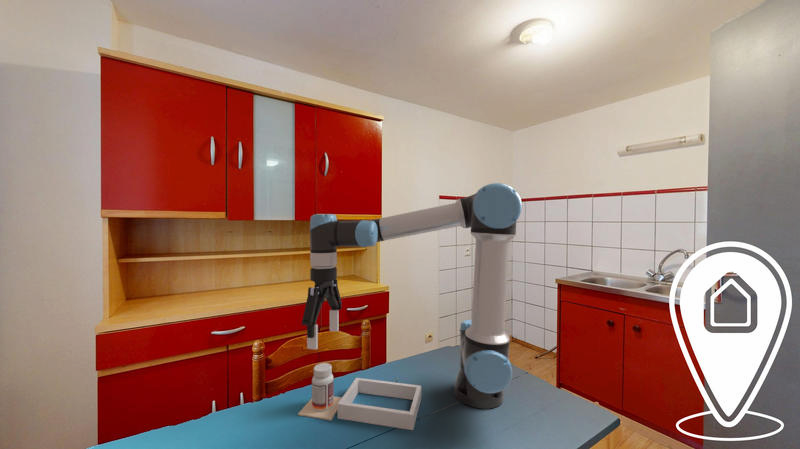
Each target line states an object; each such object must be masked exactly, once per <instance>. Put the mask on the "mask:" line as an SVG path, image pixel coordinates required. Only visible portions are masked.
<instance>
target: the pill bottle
mask: <svg viewBox="0 0 800 449" xmlns="http://www.w3.org/2000/svg"><path fill="white" fill-rule="evenodd" d="M332 368H333V365H332V364H331V363H327V362H323V363H322V362H321V363H319V364H316V365H315V366H314V367H313V376H312V379H311V398H312V407H313V409H314V410H316V411H325V410H328V409H329V408H331V407H332V405H333V402H334V397H335V395H334V389H335V387H334V385H335V384H334V382H335V380H334V375H333V373H332V371H333V370H332Z"/></svg>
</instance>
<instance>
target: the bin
mask: <svg viewBox="0 0 800 449" xmlns="http://www.w3.org/2000/svg"><path fill="white" fill-rule="evenodd" d="M359 393H361V394H367V395H375V396H379V397H380V396H382V397H389V398H396V399H403V400H404V399H405V400H412V402H411V406H410V409H409V411H408V410H402V409H395V408H387V407H382V406H381V407H380V406H374V405H368V404H367V405H366V404H361V403H360V404H359V403H353V402H354V400H355V398H357V396H358V394H359ZM341 398H342V399H341V400H340V401H339V403H338V411H337V419H338V420H339V419H340V420H345V421H353V422H359V423H365V424H371V425H377V426H383V427H388V428H389V427H390V428H396V429H402V430H407V431H409V430H410V431H414V428H415V425H416V421H417V417H418V414H419V413H418V412H419V408H420V404H421V400H422V385H418V384H410V383H401V382H394V381H385V380H377V379H370V378H364V377H363V378H361V377H356V378H355V379H354V380H353V382H352V383H351V385H350V386H349V387H348V389H347V390H346V391H345V393H344V394H343V396H342V397H341Z"/></svg>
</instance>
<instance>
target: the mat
mask: <svg viewBox="0 0 800 449" xmlns="http://www.w3.org/2000/svg"><path fill="white" fill-rule="evenodd" d="M341 399H342V397H340V396H334V402H333V405H332V407H331V408H329V409H328V410H325V411H316V410H314V409H313V407H312V397H311V399H309V401H308V402H307V403H306V404H305V405H304V406H303V407H302V408H301V410H300V411H299V412H298V413H297V415H298V416H301V417H307V418H308V417H309V418H313V419H314V418H315V419H319V420H326V421H332V420H333V418H334V417H335V415H336V413H338V403H339V401H340V400H341Z"/></svg>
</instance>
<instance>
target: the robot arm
mask: <svg viewBox="0 0 800 449" xmlns="http://www.w3.org/2000/svg"><path fill="white" fill-rule="evenodd" d="M522 206H523V205H522V199H521V197H520V194H519V193H518V192H517V191H516V190H515V188H513V187H512V186H510V185H508V184H505V183H501V182H495V183H494V182H493V183H489V184H486V185H483V186H482V187H481V188H479V189H478V190H477V192H475V193H474V194H471V195H468V196H466V197H462V198H458V199H457V200H456V202H452V203H449V204H444V205H438V206H433V207H428V208H423V209H418V210H415V211H410V212H405V213H399V214H394V215H390V216H386V217H381V218H375V219H371V220H366V219H365V220H338V219H337V216H336V214H332V213H326V214H325V213H324V214H323V213H317V214H313V215H311V216H310V221H309V222H310V224H309V238H310V239H309V241H310V242H309V243H310V248H309V249H310V255H309V258H310V269H309V270H310V271H309V276H310V278H309V279H310V281H311V282H314V285H313V286H314V287H313V286H312V287H311V286H310V287H308V288H307V289H308V290H307V298H306V303H305V307H304V311H303V316H302V321H301V326H306V348H307V350H308V349H309V350H318V348H319V346H318V344H319V343H318V339H319V338H318V337H319V336H318V335H319V334H318V332H319V330H318V329H319V327H318V326H319V325H318V324H317V321H318V317H319V315H320V311H321V309H322V306H323V303H325V302H327V303H328V306H329V307H330V310H329V332H337V333H338V332H339V331H340V330H339V329H340V328H339V322H340V321H339V319H340V318H339V310H341V311H342V309H343V307H342V304H343V302H342V299H341V295H340V291H339V287H338V279H337V278H338V274H337V273H338V272H337V271H338V270H337V269H338V268H337V265H338V261H337V260H338V254H337V253H338V252H337V249H338V248H337V247H339V248H340V247H350V248H351V247H357V248H358V247H359V248H360V247H361V248H367V247H374V246H376V244H377V243H380V242H385V241H389V240H390V241H391V240H394V239H400V238H405V237H409V236H415V235H416V236H417V235H420V234H426V233H430V232H436V231H440V230H446V229H447V230H448V229H452V228H458V227H461V228H463V229H469V228H470V234H471V235H472V236H473V238H475V250H474V251H475V253H474V268H473V272H474V273H473V286H472V305H471V319H466V320H463V321H462V322H461V323H460V327H459V328H460V329H459V332H460V333H459V335H460V336H459V339H460V341H459V342H460V344H459V363H460V364H459V369H458V373H457V375H456V378H455V381H454V383H453V384H454V385H453V388H454V395H455V397H456V399H458V401H460V402H462V403H463V404H464V405H466V406H469V407H471V408H475V409H476V408H477V409H482V410H483V409H486V410H487V409H493V408H494V409H495V408H498V407H499V406H501V405H502V404H503V402H504V401H505V400H504V399H505V398H504V397H505V392H504V390H505V389H506V388H507V387H508V386H509V385H510V384H511V381H512V379H513V367H512V364H511V361H510V344H511V343H510V342H511V341H510V340H511V338H510V336H509V335H508V334H507V333H506V332H505V320H506V319H505V318H506V304H507V303H506V302H507V284H508V266H509V252H510V251H509V250H510V242H511V240H513V239H514V238H515V237H516V233H517V221H518V220H519V218H520V216H521V213H522V210H523V207H522Z"/></svg>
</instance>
